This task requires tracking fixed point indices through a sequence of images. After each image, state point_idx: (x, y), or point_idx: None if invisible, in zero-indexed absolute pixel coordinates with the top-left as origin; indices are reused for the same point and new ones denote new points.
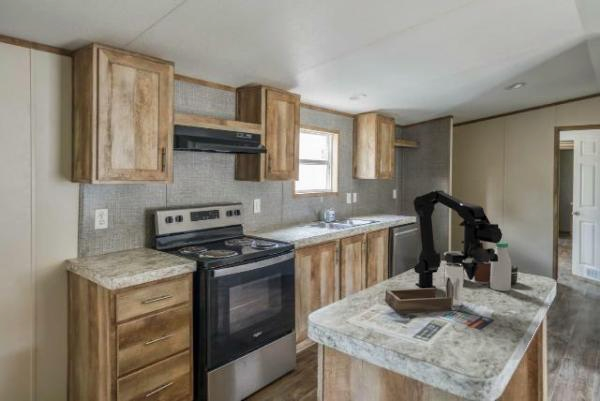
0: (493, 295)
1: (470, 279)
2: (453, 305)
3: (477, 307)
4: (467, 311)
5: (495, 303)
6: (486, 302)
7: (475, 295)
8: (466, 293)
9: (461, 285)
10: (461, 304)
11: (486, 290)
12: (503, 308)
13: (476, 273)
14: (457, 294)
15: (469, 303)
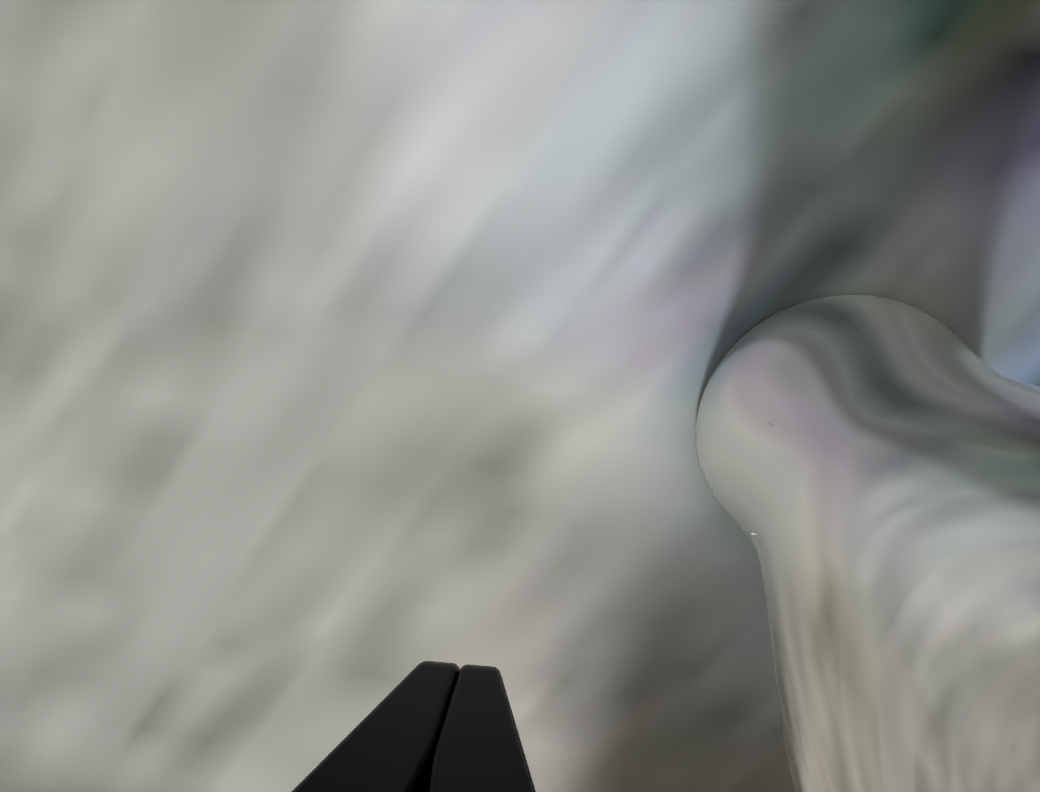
0: (10, 588)
1: (498, 675)
2: (932, 317)
3: (552, 178)
4: (883, 11)
5: (145, 294)
6: (262, 363)
7: (259, 642)
8: (338, 729)
9: (1016, 436)
10: (764, 324)
11: (15, 755)
12: (134, 44)
13: None
14: (966, 370)
15: (559, 378)
